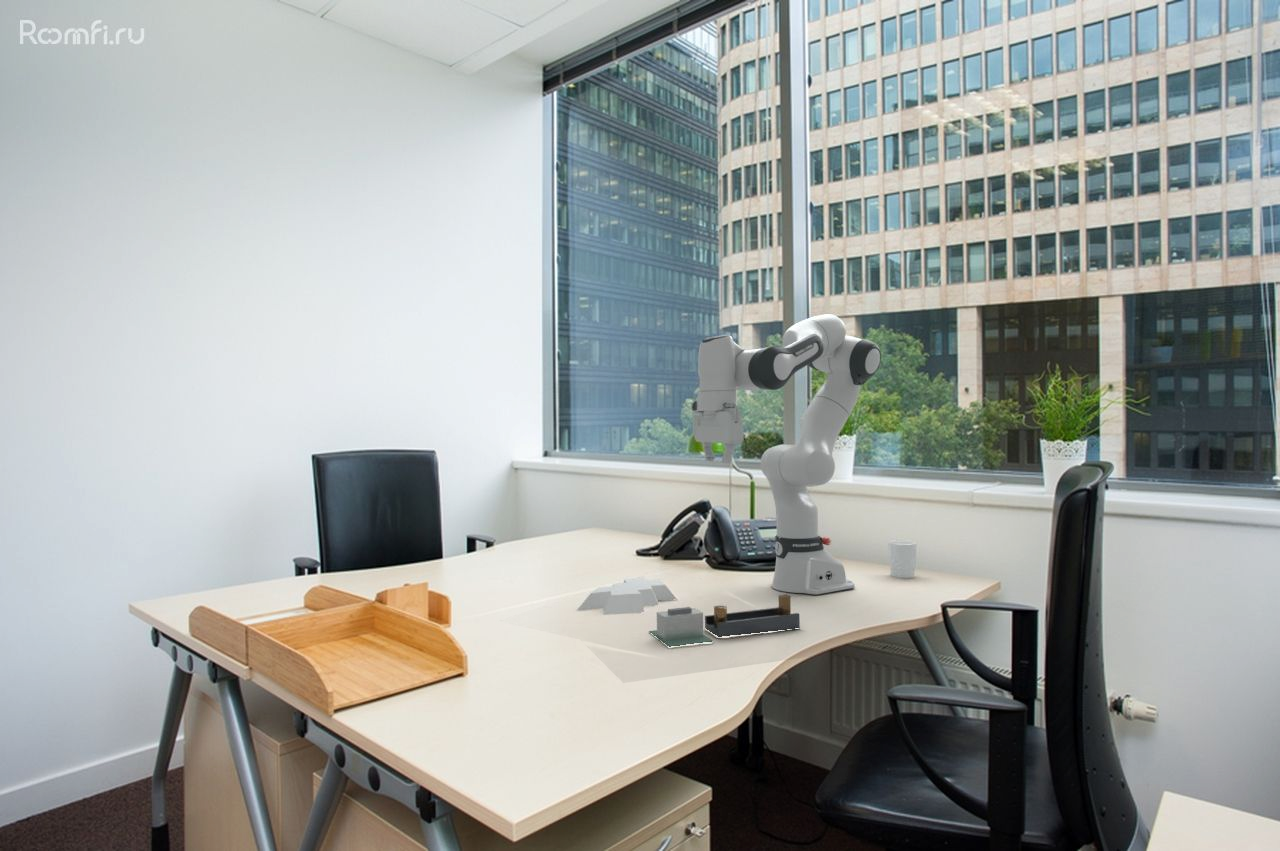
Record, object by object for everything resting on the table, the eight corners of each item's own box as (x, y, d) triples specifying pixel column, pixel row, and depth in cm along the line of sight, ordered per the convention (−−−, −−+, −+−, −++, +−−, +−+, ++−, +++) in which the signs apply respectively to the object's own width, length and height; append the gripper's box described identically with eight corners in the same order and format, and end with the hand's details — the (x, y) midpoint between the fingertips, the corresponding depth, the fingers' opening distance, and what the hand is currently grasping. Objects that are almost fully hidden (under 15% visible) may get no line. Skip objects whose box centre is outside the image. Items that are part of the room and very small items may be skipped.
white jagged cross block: (623, 629, 178) (622, 605, 178) (558, 617, 189) (557, 595, 189) (700, 598, 207) (700, 577, 207) (640, 589, 218) (639, 570, 218)
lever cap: (695, 630, 171) (694, 604, 171) (703, 635, 166) (702, 609, 166) (657, 635, 168) (656, 608, 168) (664, 640, 163) (663, 613, 163)
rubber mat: (690, 629, 174) (690, 626, 174) (713, 644, 163) (712, 640, 163) (648, 634, 171) (648, 631, 171) (669, 649, 160) (669, 646, 160)
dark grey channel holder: (783, 621, 180) (783, 591, 179) (799, 629, 173) (799, 598, 173) (705, 631, 173) (704, 600, 173) (718, 639, 166) (718, 607, 166)
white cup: (882, 575, 229) (882, 541, 228) (903, 572, 232) (902, 539, 232) (902, 580, 221) (901, 545, 221) (922, 577, 225) (922, 543, 225)
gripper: (749, 402, 174) (750, 464, 174) (711, 404, 193) (712, 459, 194) (724, 402, 172) (725, 465, 172) (688, 404, 191) (688, 460, 191)
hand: (718, 462), depth 183 cm, fingers open, 8 cm apart
